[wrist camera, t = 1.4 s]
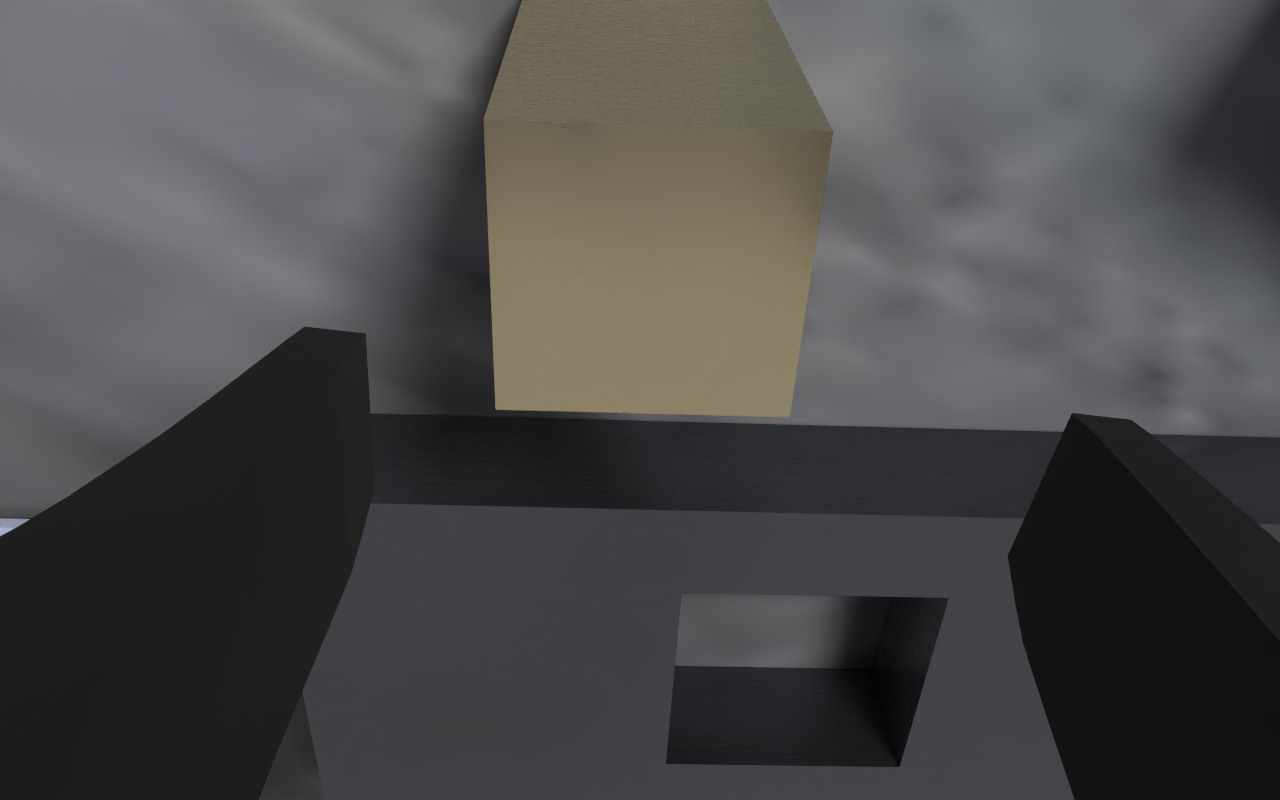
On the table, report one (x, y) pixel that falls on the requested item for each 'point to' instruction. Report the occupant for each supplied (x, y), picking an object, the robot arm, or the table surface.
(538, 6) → the brass peg
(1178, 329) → the table surface
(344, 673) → the dark grey slotted block
